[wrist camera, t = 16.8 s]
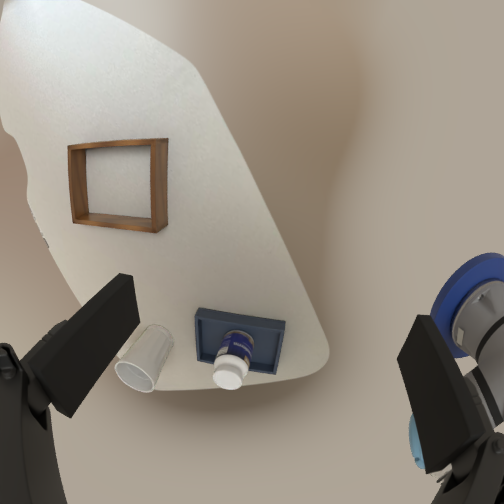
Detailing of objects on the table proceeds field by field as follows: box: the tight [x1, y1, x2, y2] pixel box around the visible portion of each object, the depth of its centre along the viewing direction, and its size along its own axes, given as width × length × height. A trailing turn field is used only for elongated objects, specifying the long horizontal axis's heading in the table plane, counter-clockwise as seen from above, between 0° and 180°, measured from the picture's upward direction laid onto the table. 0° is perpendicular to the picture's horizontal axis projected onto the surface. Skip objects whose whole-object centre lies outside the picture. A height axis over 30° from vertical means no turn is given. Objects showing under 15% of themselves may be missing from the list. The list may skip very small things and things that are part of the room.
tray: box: [194, 308, 285, 375], centre depth 48 cm, size 15×11×3 cm
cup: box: [115, 325, 174, 392], centre depth 47 cm, size 8×8×12 cm
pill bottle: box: [213, 330, 254, 390], centre depth 44 cm, size 6×6×10 cm
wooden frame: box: [68, 138, 168, 233], centre depth 39 cm, size 18×14×4 cm
